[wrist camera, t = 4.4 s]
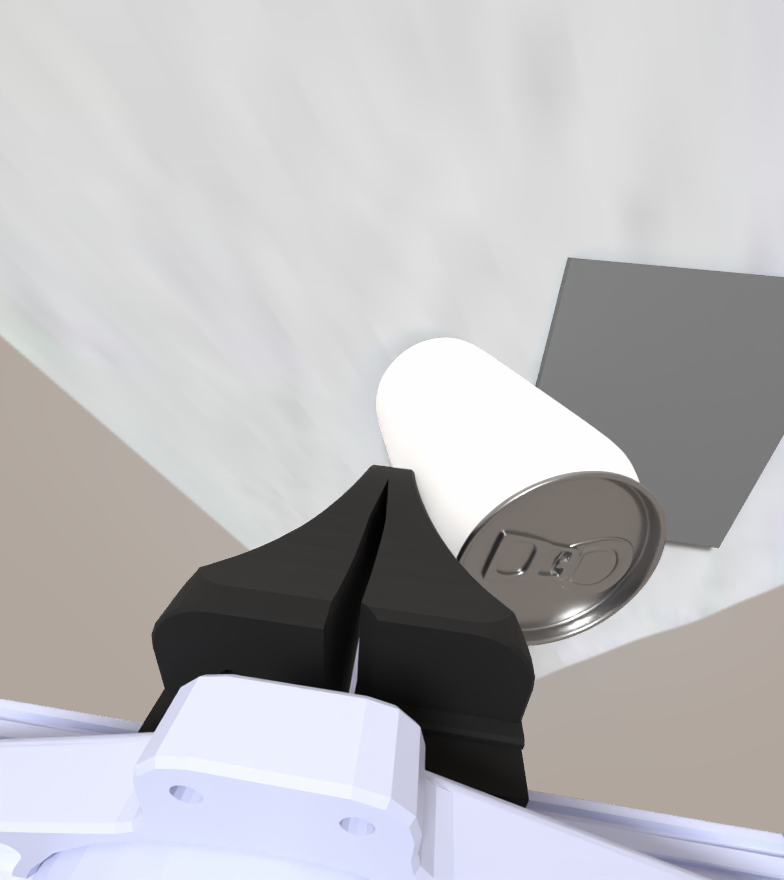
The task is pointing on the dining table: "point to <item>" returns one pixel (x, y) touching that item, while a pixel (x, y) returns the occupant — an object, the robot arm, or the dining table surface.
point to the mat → (674, 380)
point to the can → (520, 488)
